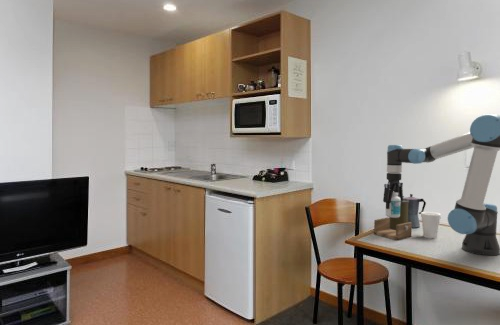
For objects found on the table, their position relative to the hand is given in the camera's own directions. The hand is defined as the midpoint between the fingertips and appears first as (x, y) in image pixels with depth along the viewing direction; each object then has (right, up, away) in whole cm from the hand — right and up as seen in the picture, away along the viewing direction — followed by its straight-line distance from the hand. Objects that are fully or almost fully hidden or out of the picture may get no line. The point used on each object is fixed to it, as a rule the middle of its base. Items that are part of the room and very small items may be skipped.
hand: (392, 213), depth 188 cm
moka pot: (+21, -11, +20) cm, 31 cm away
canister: (+10, -12, +15) cm, 21 cm away
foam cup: (+20, -13, -2) cm, 24 cm away
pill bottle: (0, -2, 0) cm, 2 cm away
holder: (0, -12, +1) cm, 12 cm away
